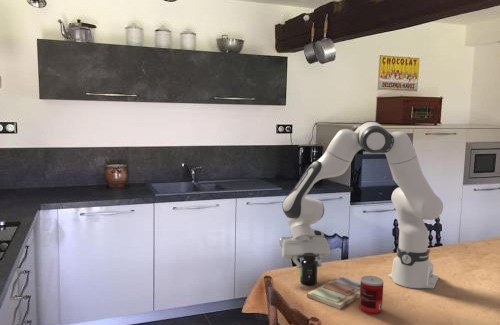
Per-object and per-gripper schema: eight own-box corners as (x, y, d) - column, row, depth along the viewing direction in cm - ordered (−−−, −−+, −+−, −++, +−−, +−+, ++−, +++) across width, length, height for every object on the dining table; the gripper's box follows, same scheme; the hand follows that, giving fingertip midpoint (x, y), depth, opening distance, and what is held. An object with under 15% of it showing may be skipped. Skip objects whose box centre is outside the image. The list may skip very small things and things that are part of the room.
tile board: (340, 279, 179) (340, 275, 179) (371, 289, 170) (371, 284, 170) (306, 297, 161) (307, 291, 161) (339, 309, 152) (340, 303, 152)
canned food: (377, 304, 156) (379, 275, 155) (385, 315, 148) (386, 284, 147) (356, 304, 156) (358, 275, 155) (363, 314, 148) (364, 284, 147)
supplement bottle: (298, 284, 173) (299, 255, 172) (301, 278, 179) (302, 250, 178) (315, 287, 171) (316, 257, 170) (318, 281, 177) (319, 252, 176)
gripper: (280, 233, 177) (286, 264, 169) (326, 231, 182) (335, 262, 174) (277, 241, 182) (283, 271, 174) (322, 239, 187) (330, 268, 178)
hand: (309, 266), depth 174 cm, fingers open, 7 cm apart
